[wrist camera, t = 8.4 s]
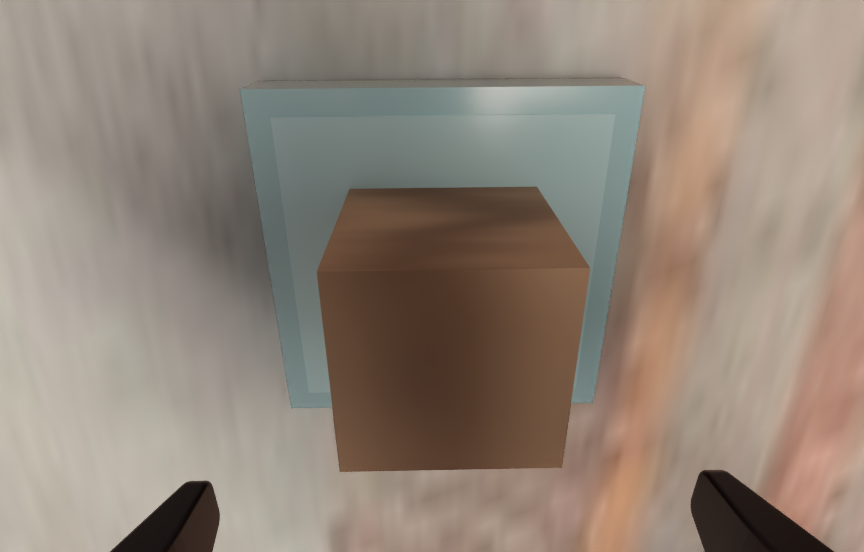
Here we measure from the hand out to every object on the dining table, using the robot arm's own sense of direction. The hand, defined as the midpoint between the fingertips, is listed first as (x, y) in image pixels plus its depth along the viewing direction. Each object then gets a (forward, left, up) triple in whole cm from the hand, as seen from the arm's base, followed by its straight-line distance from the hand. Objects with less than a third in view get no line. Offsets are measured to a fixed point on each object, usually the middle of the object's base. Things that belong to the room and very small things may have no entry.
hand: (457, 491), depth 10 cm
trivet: (0, 0, -12) cm, 12 cm away
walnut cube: (0, 0, -10) cm, 10 cm away
